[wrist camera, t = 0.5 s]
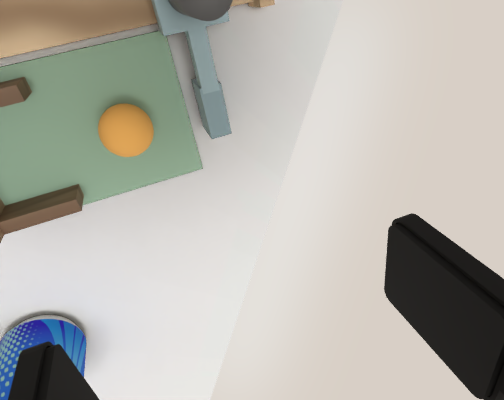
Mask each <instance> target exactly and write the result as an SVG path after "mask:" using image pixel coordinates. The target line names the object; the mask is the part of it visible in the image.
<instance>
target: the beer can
mask: <svg viewBox="0 0 504 400" xmlns="http://www.w3.org/2000/svg"><path fill="white" fill-rule="evenodd" d="M47 341H49V342H51V343H52V344H53V345H56V344H60V345H61V346H62V348H63V349H64V350H65V352H66V353H67V355H68V356H69V358H70V359H71V360H72V362H73V363H74V365H75V366H76V367H77V369H78V370H79V372H80V373H81V375H82V376H83V377H84V368H85V354H86V338H85V335H84V333H83V332H82V330H81V329H80V328H79V327H77V325H76V324H75V323H74V322H72V321H71V320H69V319H67V318H64V317H61V316H56V315H41V316H36V317H32V318H29V319H27V320H25V321H23V322H21V323H20V324H19V325H17V326H15V327H14V328H12V329H11V330H10V331H8V332H7V333H6V334H5V335H4V336H3V338H2V339H1V341H0V400H8V397H9V393H10V389H11V385H12V381H13V377H14V373H15V370H16V366H17V362H18V358H19V355H20V352H21V351H22V350H24V349H27V348H30V347H33V346H36V345H38V344H41V343H44V342H47Z"/></svg>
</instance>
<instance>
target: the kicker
mask: <svg viewBox="0 0 504 400" xmlns="http://www.w3.org/2000/svg"><path fill="white" fill-rule="evenodd" d="M151 1H152V5H153V8H154V12H155V15H156V19H157V22H158V26H159V29H160V33H161V34H162V35H163V36H168V35H172V34H176V33H180V32H185V34H186V38H187V42H188V46H189V50H190V54H191V58H192V62H193V66H194V70H195V74H196V78H197V79H193V80H192V84H193V88H194V92H195V96H196V100H197V103H198V107H199V111H200V115H201V119H202V123H203V127H204V128H205V130H206V131H207V133H208V134H209V135H210V137H211V138H212V139H214V138H218V137H221V136H225V135H228V134H231V128H230V124H229V119H228V115H227V110H226V105H225V101H224V96H223V91H222V87H221V83H220V82H219V81H218V80H217V75H216V70H215V66H214V61H213V57H212V52H211V48H210V43H209V38H208V34H207V29H206V26H211V25H215V24H219V23H224V22H228V21H229V16H228V10H229V8H230V6H231V4H232V1H233V0H151Z"/></svg>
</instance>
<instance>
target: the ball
mask: <svg viewBox="0 0 504 400" xmlns="http://www.w3.org/2000/svg"><path fill="white" fill-rule="evenodd" d="M98 134H99V137H100V140H101V142H102V143H103V145H104V146H105V147H106V148H107V149H108V150H109V151H110V152H112V153H114V154H116V155H118V156H122V157H133V156H137V155H139V154H141V153H143V152H144V151H145V150H146V149H147V148H148V147H149V146H150V144H151V142H152V139H153V135H154V129H153V124H152V122H151V119H150V118H149V116H148V115H147V114H146V113H145V112H144V111H143V110H142V109H140V108H139V107H137V106H135V105H132V104H125V103H124V104H117V105H114V106H112V107H110V108H108V109H107V110H106V111H105V112H104V113H103V114H102V116H101V118H100V120H99V124H98Z"/></svg>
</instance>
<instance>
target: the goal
mask: <svg viewBox="0 0 504 400" xmlns="http://www.w3.org/2000/svg"><path fill="white" fill-rule="evenodd" d="M31 93H32V90H31V89H30V87H29V85H28V83H27V81H26V79H25V77H21V78H17V79H13V80H9V81H4V82H0V107H4V106H8V105H12V104H16V103H20V102H24V101H25V100H26V99H27V98H28V97H29V95H30V94H31ZM83 199H84V194H83V192H82V190H81V188H80V186H79V184H77V185H73V186H70V187H67V188H63V189H60V190H56V191H53V192H50V193H46V194H43V195H39V196H36V197H33V198H29V199H26V200H22V201H19V202H16V203H12V204H9V205H4V203H3V201H2V200H1V198H0V243H1V241H2V238H3V236H4V235H5V234H8V233H11V232H14V231H18V230H21V229H24V228H27V227H31V226H34V225H37V224H40V223H43V222H47V221H50V220H53V219H56V218H60V217H63V216H66V215H69V214H73V213H76V212H79V211H82V206H83Z"/></svg>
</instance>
